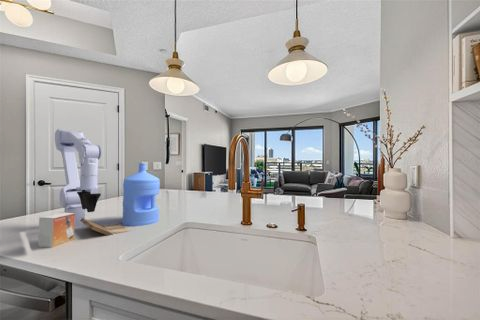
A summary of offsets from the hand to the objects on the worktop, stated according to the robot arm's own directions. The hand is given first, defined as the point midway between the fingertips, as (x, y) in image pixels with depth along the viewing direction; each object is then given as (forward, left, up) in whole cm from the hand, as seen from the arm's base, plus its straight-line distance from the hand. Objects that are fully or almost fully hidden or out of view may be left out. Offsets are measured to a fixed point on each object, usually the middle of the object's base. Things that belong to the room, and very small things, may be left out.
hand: (88, 210), depth 90 cm
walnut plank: (+3, +2, -7) cm, 8 cm away
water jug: (-1, +22, -10) cm, 24 cm away
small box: (+8, -10, -10) cm, 16 cm away
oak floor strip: (+3, +10, -9) cm, 14 cm away
